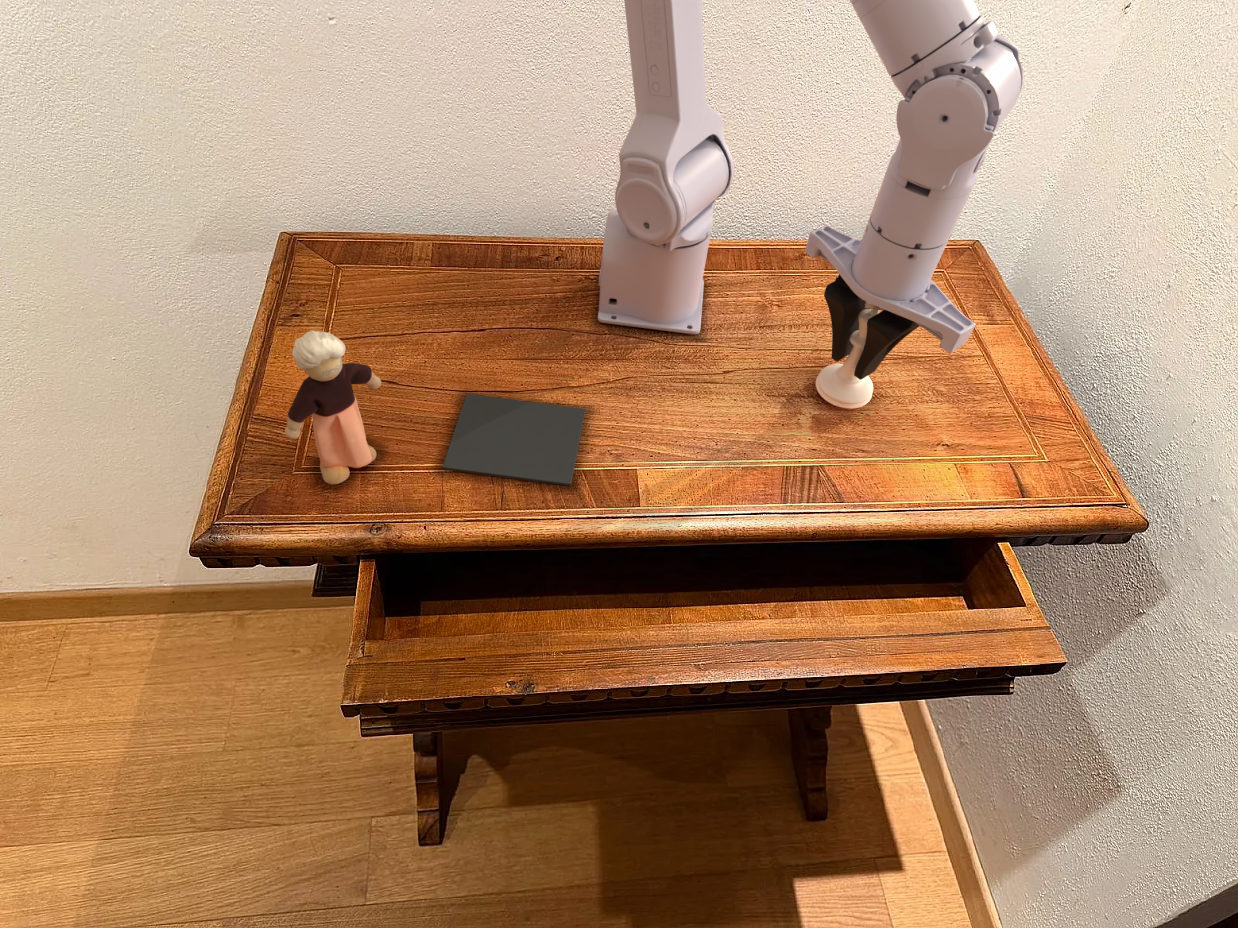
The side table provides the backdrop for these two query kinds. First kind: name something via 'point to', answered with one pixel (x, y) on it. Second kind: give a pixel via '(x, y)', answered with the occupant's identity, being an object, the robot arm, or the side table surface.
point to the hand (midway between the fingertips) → (853, 364)
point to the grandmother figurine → (331, 404)
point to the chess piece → (849, 371)
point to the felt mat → (516, 440)
